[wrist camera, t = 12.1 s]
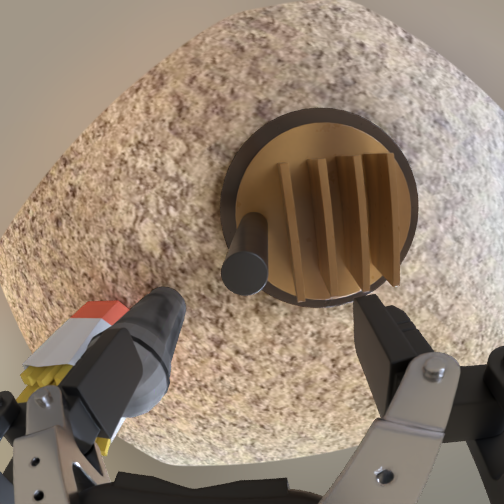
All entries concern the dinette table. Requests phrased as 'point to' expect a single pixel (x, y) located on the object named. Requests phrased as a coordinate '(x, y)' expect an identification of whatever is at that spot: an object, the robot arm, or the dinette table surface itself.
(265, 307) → the dinette table surface
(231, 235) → the base
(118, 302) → the french fries container
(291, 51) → the dinette table surface
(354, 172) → the plate rack
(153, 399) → the beverage cup
